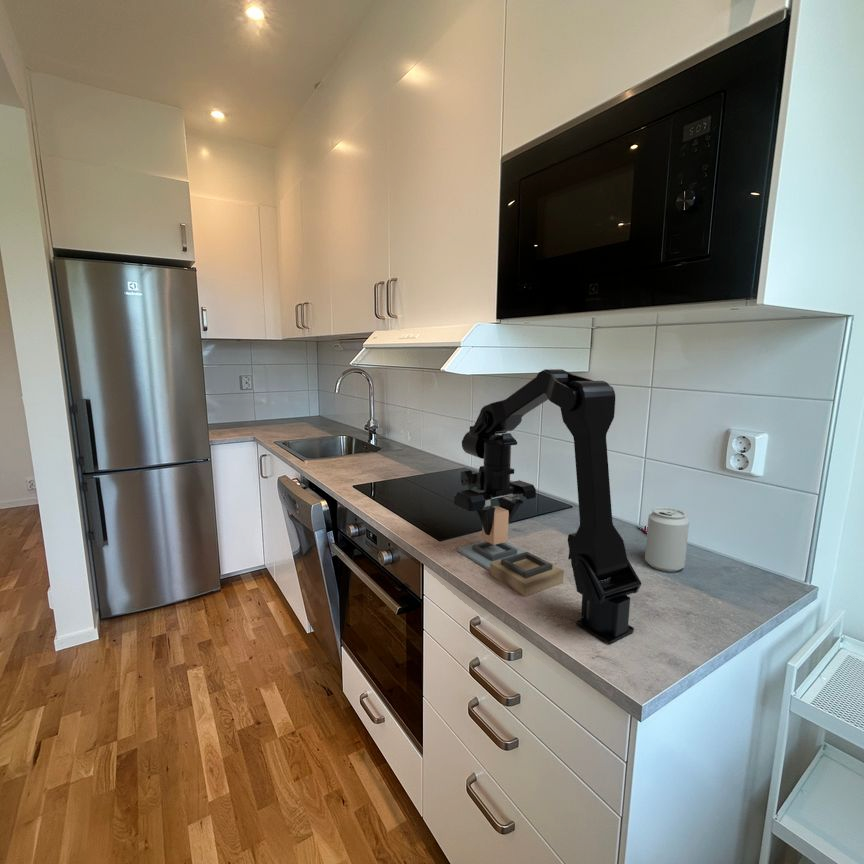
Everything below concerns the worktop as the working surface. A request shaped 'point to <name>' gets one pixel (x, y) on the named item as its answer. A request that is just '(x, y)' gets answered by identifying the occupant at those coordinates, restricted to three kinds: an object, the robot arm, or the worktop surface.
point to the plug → (498, 527)
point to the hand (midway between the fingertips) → (495, 532)
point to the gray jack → (489, 552)
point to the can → (667, 539)
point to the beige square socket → (526, 573)
